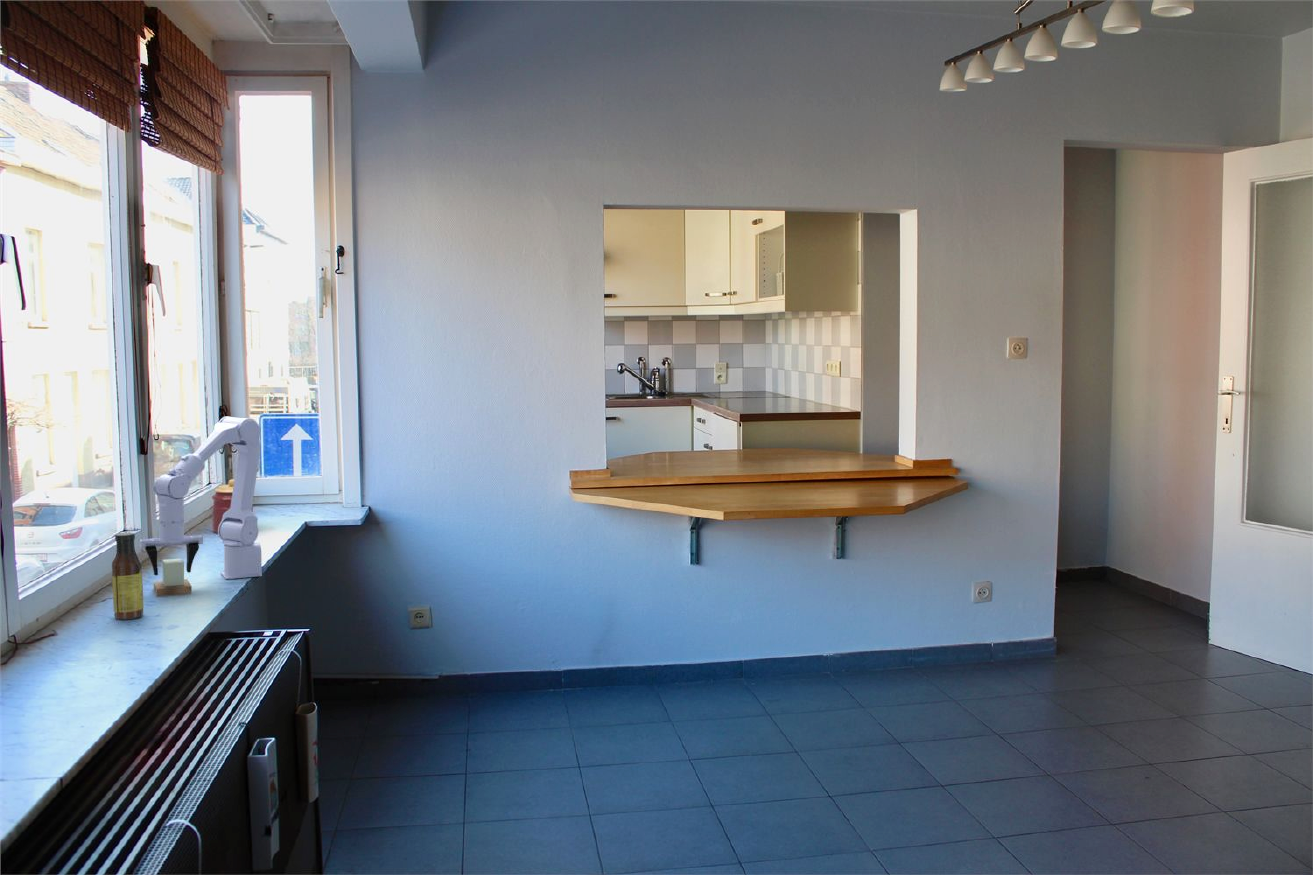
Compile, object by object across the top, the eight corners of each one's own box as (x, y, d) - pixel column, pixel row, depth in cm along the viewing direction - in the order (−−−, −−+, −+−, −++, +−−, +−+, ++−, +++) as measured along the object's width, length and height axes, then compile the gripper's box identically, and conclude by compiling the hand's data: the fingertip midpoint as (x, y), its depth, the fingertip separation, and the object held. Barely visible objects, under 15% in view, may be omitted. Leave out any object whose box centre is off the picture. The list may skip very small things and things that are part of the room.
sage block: (181, 581, 264) (181, 558, 263) (183, 584, 260) (184, 561, 259) (162, 582, 261) (162, 559, 261) (164, 586, 257) (164, 563, 257)
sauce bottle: (149, 615, 238) (148, 532, 236) (128, 621, 232) (126, 537, 230) (128, 611, 240) (127, 530, 238) (106, 618, 234) (104, 534, 233)
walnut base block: (187, 588, 266) (187, 579, 266) (191, 595, 259) (191, 585, 259) (153, 591, 262) (153, 582, 261) (157, 598, 255) (156, 589, 255)
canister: (243, 535, 334) (243, 482, 333) (205, 533, 334) (204, 481, 333) (259, 527, 347) (259, 477, 346) (222, 526, 347) (222, 476, 346)
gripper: (141, 525, 251) (142, 579, 253) (204, 521, 259) (205, 573, 261) (138, 521, 257) (139, 573, 259) (200, 517, 265) (200, 567, 266)
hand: (172, 573), depth 260 cm, fingers open, 7 cm apart
